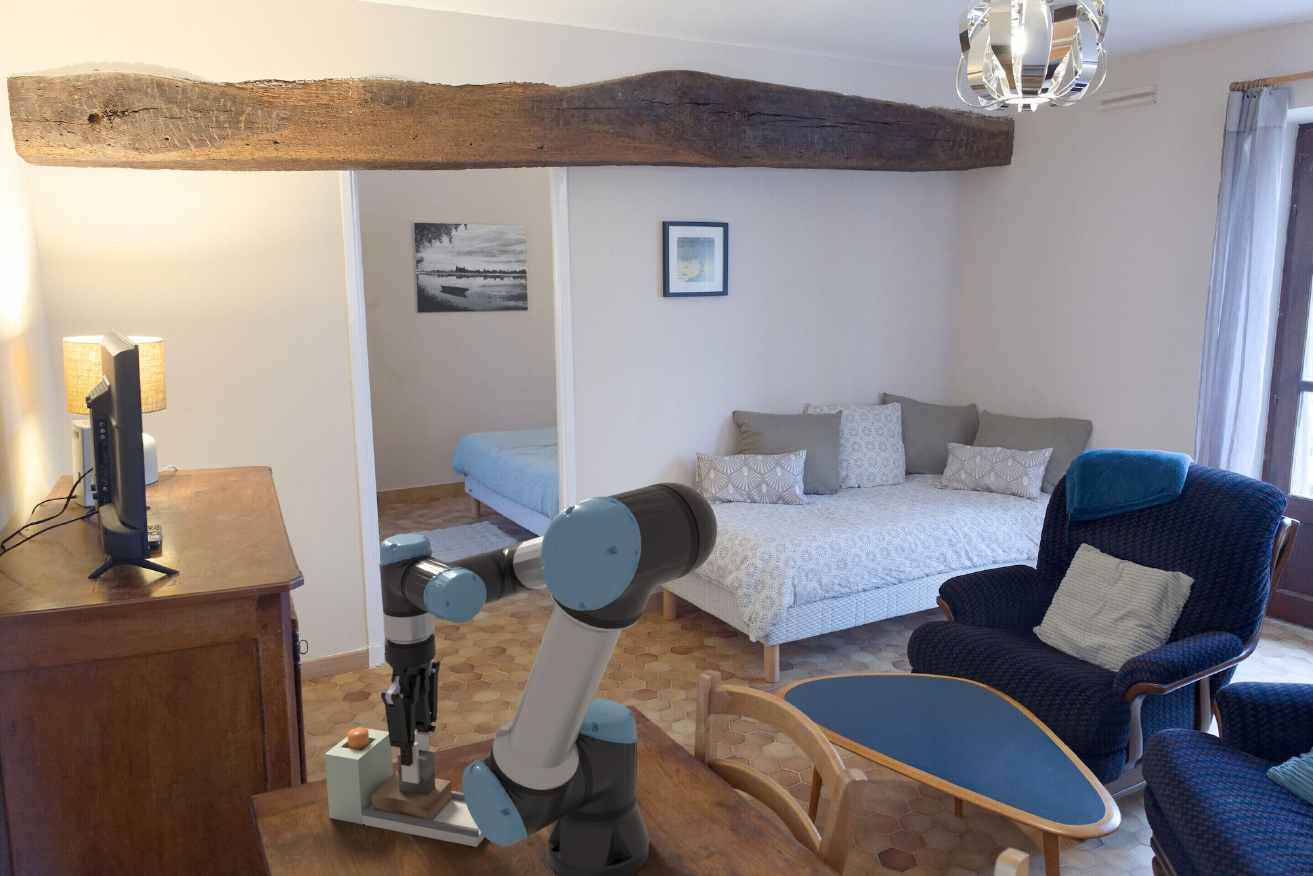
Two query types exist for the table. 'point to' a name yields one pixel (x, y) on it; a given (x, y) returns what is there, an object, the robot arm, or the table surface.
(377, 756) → the end cabinet
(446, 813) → the track
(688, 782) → the table surface
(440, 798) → the carriage
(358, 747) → the button
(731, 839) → the table surface
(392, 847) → the table surface
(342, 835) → the table surface
